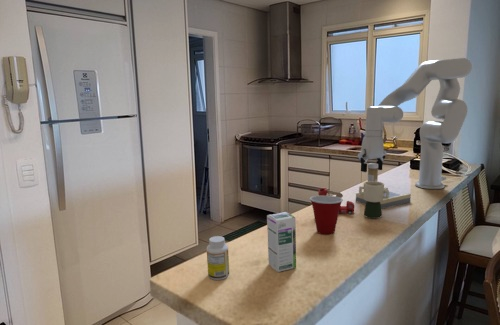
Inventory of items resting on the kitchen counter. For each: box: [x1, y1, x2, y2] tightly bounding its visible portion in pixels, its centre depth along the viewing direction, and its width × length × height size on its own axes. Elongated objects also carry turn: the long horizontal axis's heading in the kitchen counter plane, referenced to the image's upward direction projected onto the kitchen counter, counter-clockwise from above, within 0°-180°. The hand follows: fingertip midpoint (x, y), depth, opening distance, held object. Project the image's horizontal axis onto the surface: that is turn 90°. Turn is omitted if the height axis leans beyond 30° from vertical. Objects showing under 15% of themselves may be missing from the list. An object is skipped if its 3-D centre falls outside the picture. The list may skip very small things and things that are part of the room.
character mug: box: [358, 180, 390, 219], centre depth 132 cm, size 11×7×13 cm, turn 53°
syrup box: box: [266, 211, 297, 273], centre depth 96 cm, size 6×6×14 cm
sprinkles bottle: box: [367, 162, 379, 182], centre depth 165 cm, size 5×5×14 cm
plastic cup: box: [309, 195, 344, 236], centre depth 119 cm, size 11×11×12 cm
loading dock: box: [355, 187, 412, 210], centre depth 151 cm, size 18×13×4 cm
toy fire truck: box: [318, 187, 355, 215], centre depth 138 cm, size 3×14×10 cm, turn 84°
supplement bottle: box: [206, 235, 230, 281], centre depth 92 cm, size 6×6×10 cm
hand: (371, 170), depth 164 cm, fingers open, 9 cm apart
